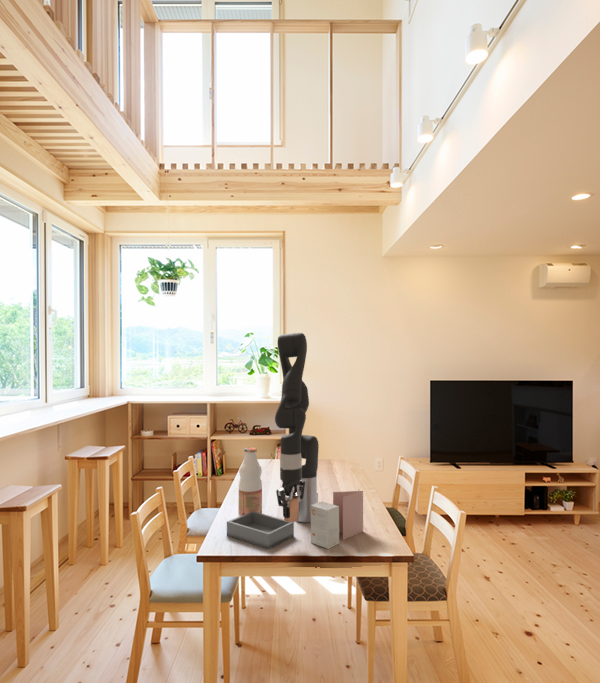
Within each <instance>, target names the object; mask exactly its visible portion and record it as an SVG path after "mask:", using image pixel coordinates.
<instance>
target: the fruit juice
mask: <svg viewBox="0 0 600 683" xmlns="http://www.w3.org/2000/svg"><path fill="white" fill-rule="evenodd" d="M238 470H239V471H238V473H239V481H238V516H237V517H240V516H242V515H245V514H247V513H250V512H252V511H254V512H258V513H261V514H263V483H262V482H263V481H262V479H261V476H262V473H263V472H262V471H263V470H262V466H261V465H260V462H259V460H258V458H257V448H256V447H245V448H244V457H243V461H242V463H241V465H240V467H239V469H238Z"/></svg>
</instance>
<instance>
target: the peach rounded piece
mask: <svg viewBox="0 0 600 683" xmlns="http://www.w3.org/2000/svg"><path fill="white" fill-rule="evenodd" d="M286 503H287V500H286ZM289 507H290V517H289V518H284V517H283V520H285V521H287V522H294V523H295V522H298V520H299V499H298V498H297V497H292V500H291V501H290V505H289Z"/></svg>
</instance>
